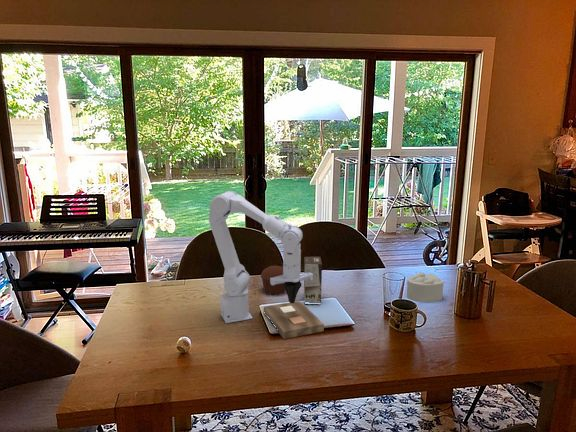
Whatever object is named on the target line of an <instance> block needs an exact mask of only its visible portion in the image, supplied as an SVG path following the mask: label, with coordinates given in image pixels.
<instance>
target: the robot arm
mask: <svg viewBox="0 0 576 432" xmlns="http://www.w3.org/2000/svg"><path fill="white" fill-rule="evenodd" d="M234 213H242V214H244V215H245V216H247V217H249V218H251V219H253V220H254V221H257V222H258V223H259V224H261V225H262V228H263V230H264V231H266V232H267V233H269V234H270V235H272V236H274V237H275V238H276V239H278V240H280V243H281V245H283V251H282V253H283V257H282V259H283V260H282V261H283V263H282V264H283V266H282V267H283V275H280V276H277V277H273V278H270V283H271V285H275V284H280V283H283V285H284V287H285V289H286V291H285V293H286V294H287V298H288V303H295V302H296V299H297V295H298V292H299V291H300V289H301V287H302V282H301V281H304V280H313V274H312V273H304V272H301V270H302V269H301V262H302V260H301V258H302V257H301V255H302V249H301V241H302V239H303V236H304V235H303V231H302V229H301V228H300V227H298V225H292V224H291V223H287V222H286V221H284V220H282V219H281V218H280V215H278V214H276V215H275V214H269V215H268V214H266V213H265V212H264V211H262V210H260V209H259V208H258V207H257V206H255V205H254V204H253V203H251V202H249V201H248V200H247V199H246V198H244V197H243V196H242V195H241V194H240V193H239V194H238V193H237V192H235V191H233V190H226V191H225V192H223V193H220V194H217V195H215V196H214V197H212V199H211V201H210V203H209V215H208V224H209V226H210V229H211V232H212V235H213V237H214V241H215V244H216V247H217V250H218V253H219V256H220V259H221V262H222V265H223V267H224V273H223V280H224V285H223V286H224V287H223V288H224V291H225V293H224V294H223V293H222V294H221V295H220V316H221V317H222V319H223V320H224V322H225V324H229V323H236V322H240V321H247V320H251V319H253V316H252V314H251V313H250V312H249V311H250V310H249V289H248V286H249V285H250V284H251V276H250V274H249V272H248V271H247V270H246V267H245V266H244V265H243V264H241V263H240V260H239V257H238V254H237V251H236V249H235V244H234V242H233V239H232V236H231V234H230V229H229V227H228V225H227V224H228V223H227V219H228V217H229V216H230V214H234Z"/></svg>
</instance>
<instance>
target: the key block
mask: <svg viewBox="0 0 576 432" xmlns="http://www.w3.org/2000/svg"><path fill="white" fill-rule="evenodd" d="M286 306H292V307H293V308H294V309H295V310H296V312H292V313H286V314H283V313H282V312H281V311H280V309H279V308H280V307H286ZM264 312H265V314H266V315H267V316H268V317H269V318H270V320H271V321H272V322H273V324H274V325H275V326H276V328H277V329H278V331H279V332H278V331H277V332H278V334H279V335H280V336H281V337H282V339H283V340H285V339H291V338H296V337H301V336H307V335H310V334H312V335H313V334H315V333H321V332H324V330H325V326H324V325H325V324H324V323H323V321H321V320H320V319H319V318H318V317H317V316H316V315H315V314H314V313H313V312H312V311H311V310H310V309H309V308H308V307H307V305H305V303H304V302H302V301H300V300H297V301H296V300H295V303H290V302H284V303H279V304H274V305H273V304H272V305H267V306H263V313H264ZM265 314H264V315H265ZM298 316H301V317H302V318H303V319H304V320H305V321H306V323H303V324H297V325H293V324H292V323H291V322H290V321H289V318H293V317H298ZM276 328H275V329H276Z"/></svg>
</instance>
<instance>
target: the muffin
mask: <svg viewBox="0 0 576 432" xmlns="http://www.w3.org/2000/svg"><path fill="white" fill-rule="evenodd" d="M280 275H283V266H280V265H270V266H268V267H266V268H264V269H263V270H262V272H261V274H260V277H261V281H262V286H263V291H264V292H265V294H267V295H271V296H275V295H276V296H278V295H283V294H285V293H286V289H285V287H284V285H283V283H280V284H275V285H271V283H270V278H273V277H277V276H280Z"/></svg>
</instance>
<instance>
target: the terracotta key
mask: <svg viewBox="0 0 576 432" xmlns="http://www.w3.org/2000/svg"><path fill="white" fill-rule="evenodd" d="M289 321H290V322H291V323H292V324H293V325H297V324H303V323H306V321H305V320H304V319H303V318H302V317H301V316H298V317H293V318H289Z"/></svg>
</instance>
